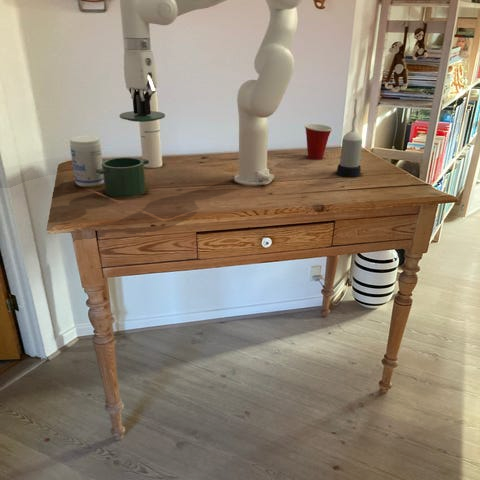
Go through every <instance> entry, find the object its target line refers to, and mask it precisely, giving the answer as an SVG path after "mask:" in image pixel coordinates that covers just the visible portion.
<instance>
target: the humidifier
mask: <svg viewBox="0 0 480 480" xmlns="http://www.w3.org/2000/svg"><path fill="white" fill-rule="evenodd" d="M360 101H361V103H360V104H363V103H362V102H363V100H360ZM357 108H358V98H354V106H353V117H352V121H351V130H350V131H348V132H346V133H345V134H344V135H343V137H342V140H341V151H340V158H339V159H340V160H339V164H338V165H337V169H336V175H338V176H340V177H343V178H356V177H360V176H361V169H362V167H361V165H360V163H361V162H360V161H361V155H362V147H363V137H362V135H361V134H360V133H359V132H358V131H357V130H359V128H360V125H358V127H357V130H356V119H357V117H358V115H357ZM361 109H362V108H360V110H359V112H361V111H362V110H361ZM360 121H361V115H359V121H358V123H360Z"/></svg>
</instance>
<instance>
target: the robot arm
mask: <svg viewBox="0 0 480 480" xmlns="http://www.w3.org/2000/svg"><path fill="white" fill-rule="evenodd" d="M226 1H227V0H119V7H120V8H119V9H120V17H121V30H122V42H123V43H122V44H123V74H124V83H125V88H126V90H127V91H129V94H130V98H131V99H132V107H133V108H132V109H133V110H132V111H134V113H135V114H138V113H137V100H136V95H139V94H141V100H142V101H140V109H141V115H150V114H151V111H150V100H151V96H152V95H153V94H154V93H155V92H157V91H156V88H157V87H158V82H157V81H158V80H157V71H156V64H155V63H156V62H155V58H154V53H153V51H152V48H151V46H152V45H151V31H150V29H151V28H150V24H152V25H159V26H169V25H171V24H172V23H174V22H175V20H177V18H178V17H180V16H182V15H185V14H188V13H190V12H193V11H198V10H204V9H209V8H212V7H214V6H217V5H219V4H222V3H224V2H226ZM265 2H266V4H267V6H268V10H269V22H268V26H267V28H266V31H265V34H264V36H263V38H262V41H261V43H260V45H259V48H258V51H257V53H256V54H255V58H254V61H253V62H254V63H253V65H254V66H253V68H254V70H255V72H256V74H258V77H257V79H249V80H248V79H247V80H246V81H245V82H243V83H242V84H241V85H240V86H239V89H238V91H237V95H236V96H237V97H236V104H237V113H238V174H236V175H234V177H233V181H234V182H236V184H237V183H238V184H241V185H245V186H261V185H268V184H270V183H271V182H272V181H273V180H274V178H275V175H274V174H272V173H270V168H268V145H269V144H268V143H269V142H268V141H269V117H270V116H272V115H274V113H275V112H276V111H277V110H278V108H279V107H280V104H281V102H282V99H283V97H284V95H285V93H286V90H287V88H288V87H289V84H290V82H291V80H292V77H293V75H294V71H295V57H294V55H293V54H292V52H291V51H290V49H291V47H292V44H293V41H294V39H295V36H296V34H297V29H298V24H299V16H298V9H297V7H298V6H299V5H300V4H301V3H302V2H303V0H265ZM144 92H145V94H144Z"/></svg>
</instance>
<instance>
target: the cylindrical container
mask: <svg viewBox="0 0 480 480" xmlns="http://www.w3.org/2000/svg"><path fill="white" fill-rule="evenodd" d="M145 92H146V91H144V94H145ZM158 98H159V97H158V92H157V91H156V92H155V93H154V94H153V95H152V96H151V100H150V111H156V112H160V111H159V99H158ZM138 125H139V136H140V147H141V148H140V149H141V156H142V159H146V160H149V163H148V164H144V168H147V169H152V168H154V169H155V168H160V167H162V166H163V156H162V141H161V140H162V139H161V127H160V125H161V124H160V119H158V120H155V121H148V122H138ZM142 159H141V160H142Z"/></svg>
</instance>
